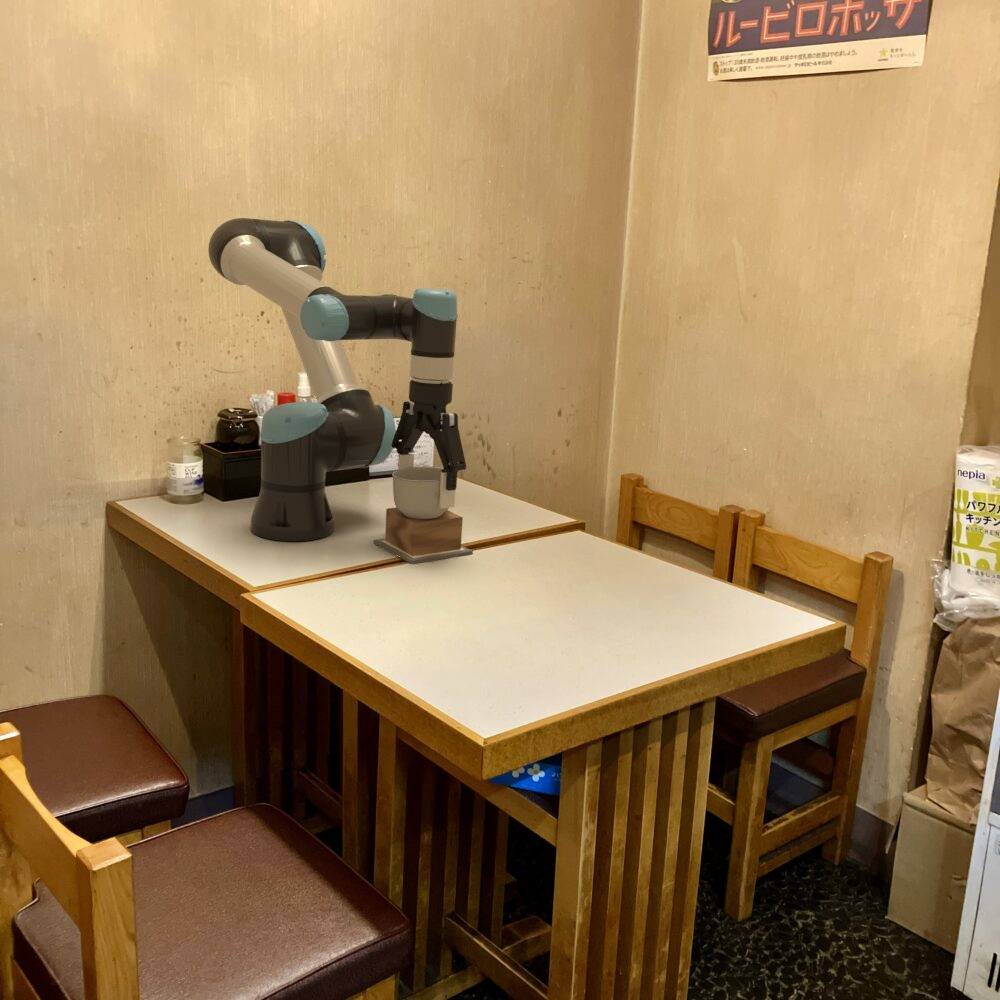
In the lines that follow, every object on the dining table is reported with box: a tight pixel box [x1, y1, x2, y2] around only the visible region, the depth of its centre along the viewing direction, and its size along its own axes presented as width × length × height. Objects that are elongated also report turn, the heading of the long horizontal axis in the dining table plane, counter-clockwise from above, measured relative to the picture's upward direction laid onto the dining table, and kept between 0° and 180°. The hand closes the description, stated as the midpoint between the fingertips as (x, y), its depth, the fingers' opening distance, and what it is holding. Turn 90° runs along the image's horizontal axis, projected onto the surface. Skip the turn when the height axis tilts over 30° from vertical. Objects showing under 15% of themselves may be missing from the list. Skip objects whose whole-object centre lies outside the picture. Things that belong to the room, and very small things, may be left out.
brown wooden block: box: [384, 507, 463, 556], centre depth 180 cm, size 10×10×6 cm
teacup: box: [391, 464, 450, 519], centre depth 178 cm, size 14×11×8 cm
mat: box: [372, 538, 474, 565], centre depth 181 cm, size 13×13×1 cm
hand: (425, 498), depth 179 cm, fingers open, 13 cm apart
